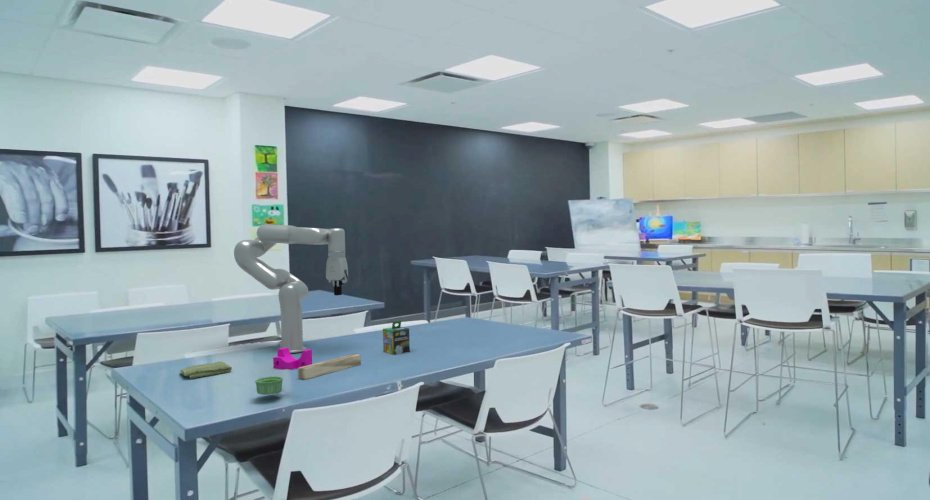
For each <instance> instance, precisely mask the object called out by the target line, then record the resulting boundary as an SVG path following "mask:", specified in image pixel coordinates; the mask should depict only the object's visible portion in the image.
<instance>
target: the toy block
mask: <svg viewBox="0 0 930 500" xmlns="http://www.w3.org/2000/svg"><path fill="white" fill-rule="evenodd" d="M279 348H280V347H279ZM279 348H277V350H276V353H277V356H273V357H272V360H273V361H272V362H273V363H272V364H273V365H272V366H273V367H272V368H273V369H278V370H296V369H297V370H298V368H300V367H304V366H308V365H312V364H313V349H309V348H308V349H306V350H303V351H302V352H301V354H300V357H299V358H295V357H294V356H292V353H290V352H289V348H280V349H279Z"/></svg>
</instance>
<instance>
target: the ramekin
mask: <svg viewBox="0 0 930 500" xmlns="http://www.w3.org/2000/svg"><path fill="white" fill-rule="evenodd" d="M283 379H284V378H283V377H282V376H278V375H277V376H276V375H273V376H271V375H270V376H264V377H260V378H256V379H255V380H254V382H255V386H256V392H257V394H259V395H262V396H265V395H266V396H267V395H276V394H278V393H281V392H282V390H283Z"/></svg>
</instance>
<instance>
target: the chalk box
mask: <svg viewBox="0 0 930 500" xmlns="http://www.w3.org/2000/svg"><path fill="white" fill-rule="evenodd" d="M396 324H397V326H396ZM401 325H402V321H401V320H395V321H392V326H391V327H386V328H382V347H383V348H382V349H383V350H382V351H383V353H387V354H390V355H393V356H395V355H401V354H405V353H409V352H410V349H411V347H410V343H411V342H410V328H409V327H404V326H401Z"/></svg>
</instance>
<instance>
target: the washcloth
mask: <svg viewBox="0 0 930 500" xmlns="http://www.w3.org/2000/svg"><path fill="white" fill-rule="evenodd" d="M232 370H233V369H232V366H230V365H228V364H226V362H224V361H220V360H219V361H216V362H210V363H203V364H197V365H196V364H195V365H192V366H188V367H184V368H182V369H180V370H179V373H180V374H181V373H182V374H181V375H182V376H184V377H186V376H187V378H189V379H197V378H202V377H206V376H207V377H209V376H213V375H214V376H216V375H220V374H225V373H229V372H231V371H232Z"/></svg>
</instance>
